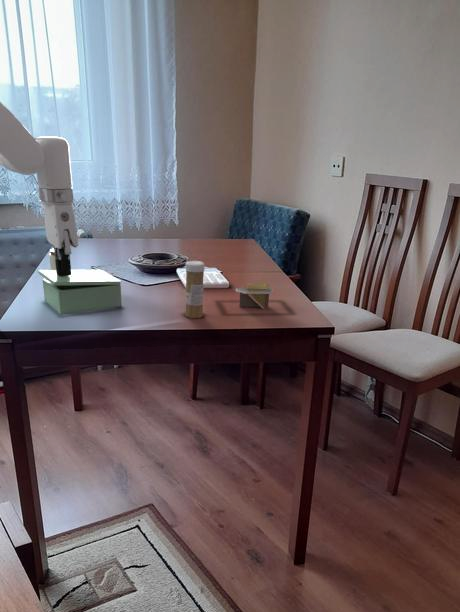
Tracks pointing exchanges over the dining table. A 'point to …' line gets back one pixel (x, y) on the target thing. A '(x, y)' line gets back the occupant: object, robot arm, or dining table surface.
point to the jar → (52, 260)
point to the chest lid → (80, 278)
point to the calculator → (207, 278)
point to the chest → (81, 297)
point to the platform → (254, 295)
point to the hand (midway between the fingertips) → (64, 275)
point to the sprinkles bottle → (194, 289)
